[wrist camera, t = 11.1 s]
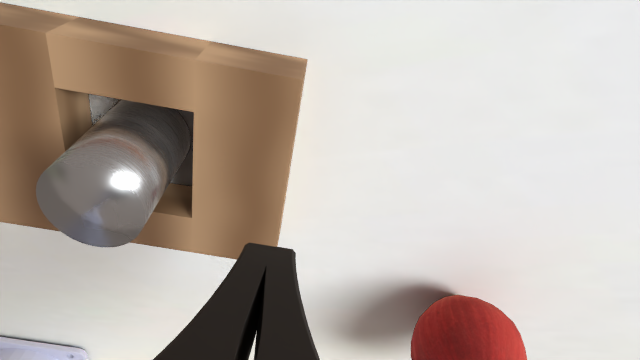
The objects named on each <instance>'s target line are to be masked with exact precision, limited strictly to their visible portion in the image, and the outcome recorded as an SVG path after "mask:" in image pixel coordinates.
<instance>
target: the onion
mask: <svg viewBox="0 0 640 360" xmlns="http://www.w3.org/2000/svg"><path fill="white" fill-rule="evenodd" d="M411 358H412V360H527V356H526V351H525V347H524V344H523V341H522V338H521V335H520V333H519V331H518V329H517V328H516V326H515V324H514V322H513V321H511V320H510V319H509V318H508V317H507V316H506V315H505V314H504V313H503V312H502V311H501V310H499V309H498V308H496V307H495V306H494V305H492V304H490V303H488V302H485V301H483V300H480V299H478V298H473V297H467V296H462V295H454V296H447V297H444V298H442V299H440V300H438V301H436V302H434V303H433V304H432V305H431V306H430V307H429V308H428V309H427V310H426V311H425V312H424V313H423V314H422V315H421V316H420V317H419V319H418V322H417V324H416V326H415V328H414V332H413V336H412V340H411Z"/></svg>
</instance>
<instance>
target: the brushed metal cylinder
mask: <svg viewBox="0 0 640 360" xmlns="http://www.w3.org/2000/svg"><path fill="white" fill-rule="evenodd" d="M190 144H191V137H190V132H189V128H188V126H187V124H186V122H185V120H184V119H183V117H182V116H181V115H180V114H179V113H178V111H177V110H175V109H173V108H168V107H162V106H156V105H151V104H145V103H139V102H134V101H128V100H121V101H119V102H118V103H117V104H116V105H115V106H114V107H113V108H111V109H110V110H109V111H108V112H107V113H106V114H105V115H104V116H103V117H102V118H101V119H100V120H99V121H98V122H96V123H95V124H94V125H93V126H92V127H91V128H90V129H89V130H88V131H87V132H86V133H85V134H84V135H83V136H81V137H80V138H79V139H78V140H77V141H76V142H75V143H74V144H73V145H72V146H71V147H70V148H69V149H67V150H66V151H65V152H64V153H63V154H62V155H61V156H60V157H59V158H58V159H57V160H56V161H55V162H54V163H52V164H51V165H50V166H49V167H48V168H47V169H46V170H45V171H44V172H43V173H42V174H41V176H40V177H39V179H38V182H37V185H36V197H37V201H38V204H39V206H40V208H41V210H42V212H43V213H44V215H45V216H46V218H47V219H48V220H49V221H50V222H51V223H52V224H53V225H54V226H55V227H56V228H57V229H58V230H60V231H61V232H62V233H64V234H65V235H67V236H69V237H71V238H72V239H75V240H77V241H79V242H82V243H85V244H88V245H92V246H97V247H116V246H121V245H124V244H127V243H129V242H131V241H132V240H134V239H135V238H136V237H137V236H138V235H139V234H140V232H141V230H142V229H143V227H144V225H145V224H146V222H147V220H148V219H149V217H150V215H151V214H152V212H153V210H154V209H155V207H156V205H157V204H158V202H159V200H160V199H161V197H162V195H163V194H164V192H165V190H166V189H167V187H168V185H169V184H170V182H171V180H172V179H173V177H174V175H175V174H176V172H177V170H178V169H179V167H180V165H181V164H182V162H183V160H184V159H185V157H186V155H187V154H188V152H189V149H190Z"/></svg>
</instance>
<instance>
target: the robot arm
mask: <svg viewBox="0 0 640 360" xmlns="http://www.w3.org/2000/svg"><path fill="white" fill-rule="evenodd" d="M295 256H296V253H295V252H294V251H293V249H287V248H281V247H274V246H268V245H262V244H256V243H250V242H249V243H247V244H246V245H245V246H244V248H243V250H242V252H241V254H240V256H239V258H238V259H237V261H236V263H235V264H234V266H233V267H232V269H231V270H230V272H229V273H228V275H227V276H226V278H225V279H224V280H223V282H222V283H221V285H220V286H219V287H218V289H217V290H216V291H215V293H214V294H213V295H212V297H211V298H210V299H209V300H208V302H207V303H206V304H205V305H204V306H203V308H202V309H201V310H200V311H199V312H198V313H197V315H196V316H195V317H194V318H193V319H192V321H191V322H190V323H189V324H188V325H187V326H186V327H185V328H184V329H183V330H182V331H181V332H180V334H179V335H178V336H177V337H176V338H175V339H174V340H173V341H172V342H171V343H170V344H169V345H168V346H167V347H166V348H165V349H164V350H163V351H162V352H161V353H159V354H158V355H157V356H156V357H155V358H154V359H153V360H248V359H249V355H250V352H251V349H252V345H253V342H254V338H255V335H256V345H255V355H254V360H320V359H319V356H318V353H317V351H316V348H315V345H314V342H313V339H312V336H311V333H310V330H309V327H308V323H307V320H306V316H305V312H304V308H303V304H302V300H301V296H300V291H299V286H298V280H297V273H296V261H295ZM256 331H257V334H256ZM0 360H88V357H87V353H86V351H85V350H83V349H80V348H75V347H68V346H61V345H54V344H47V343H40V342H33V341H26V340H19V339H12V338H5V337H0Z"/></svg>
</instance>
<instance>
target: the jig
mask: <svg viewBox="0 0 640 360" xmlns="http://www.w3.org/2000/svg"><path fill="white" fill-rule="evenodd" d="M306 66H307V59H302V58H297V57H292V56H286V55H281V54H275V53H270V52H265V51H259V50H254V49H248V48H243V47H238V46H232V45H227V44H221V43H216V42H211V41H205V40H200V39H194V38H189V37H184V36H178V35H173V34H167V33H162V32H157V31H151V30H146V29H141V28H135V27H130V26H124V25H119V24H114V23H108V22H103V21H97V20H92V19H87V18H81V17H76V16H70V15H65V14H60V13H54V12H49V11H43V10H38V9H33V8H27V7H22V6H16V5H11V4H6V3H0V222H5V223H11V224H17V225H24V226H30V227H36V228H43V229H49V230H55V231H60V230H58V229H57V228H56V227H55V226H54V225H53V224H52V223H51V222H50V221H49V220H48V219H47V218H46V216H45V215H44V213H43V212H42V210H41V208H40V206H39V204H38V201H37V197H36V185H37V182H38V179H39V177H40V176H41V174H42V173H43V172H44V171H45V170H46V169H47V168H48V167H49V166H50V165H51V164H52V163H54V162H55V161H56V160H57V159H58V158H59V157H60V156H61V155H62V154H63V153H64V152H65V151H66V150H67V149H69V148H70V147H71V146H72V145H73V144H74V143H75V142H76V141H77V140H78V139H79V138H80V137H81V136H83V135H84V134H85V133H86V132H87V131H88V130H89V129H90V128H91V127H92V120H91V112H90V104H89V96H88V94H94V95H99V96H105V97H111V98H117V99H122V100H128V101H134V102H139V103H145V104H151V105H156V106H162V107H168V108H173V109H179V110H185V111H190V112H194V127H193V183H192V187H191V186H185V185H179V184H173V183H170V184H169V185H168V187H167V189H166V190H165V192H164V194H163V195H162V197H161V199H160V200H159V202H158V204H157V205H156V207H155V209H154V210H153V212H152V214H151V215H150V217H149V219H148V220H147V222H146V224H145V225H144V227H143V229H142V230H141V232H140V234H139V235H138V236H137V237H136V238H135V239H134V240H132V241H131V243H137V244H144V245H150V246H156V247H162V248H169V249H175V250H181V251H188V252H194V253H200V254H207V255H213V256H219V257H226V258H232V259H238V258H239V256H240V254H241V252H242V250H243V248H244V246H245V245H246V244H247V243H249V242H250V243H256V244H262V245H268V246H274V247H277V245H278V240H279V234H280V228H281V222H282V216H283V209H284V203H285V197H286V191H287V184H288V178H289V172H290V166H291V159H292V153H293V147H294V141H295V134H296V128H297V122H298V116H299V109H300V103H301V97H302V91H303V84H304V78H305V72H306Z"/></svg>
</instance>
